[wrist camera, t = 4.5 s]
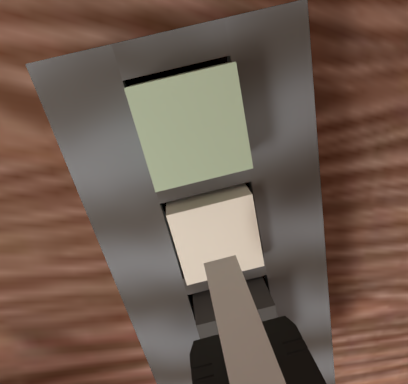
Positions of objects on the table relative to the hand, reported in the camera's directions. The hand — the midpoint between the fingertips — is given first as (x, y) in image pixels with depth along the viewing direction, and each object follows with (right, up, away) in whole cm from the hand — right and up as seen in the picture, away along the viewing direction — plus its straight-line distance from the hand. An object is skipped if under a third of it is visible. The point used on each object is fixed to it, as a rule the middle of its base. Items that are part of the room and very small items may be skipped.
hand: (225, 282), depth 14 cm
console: (0, +1, +12) cm, 12 cm away
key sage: (-2, +9, +4) cm, 9 cm away
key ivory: (-1, +3, +8) cm, 8 cm away
